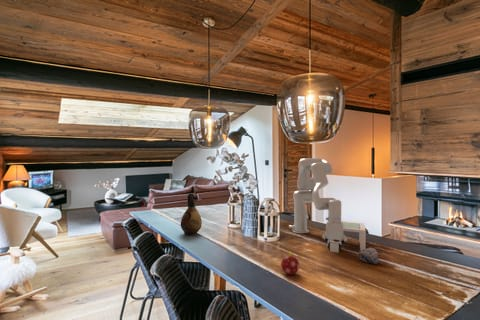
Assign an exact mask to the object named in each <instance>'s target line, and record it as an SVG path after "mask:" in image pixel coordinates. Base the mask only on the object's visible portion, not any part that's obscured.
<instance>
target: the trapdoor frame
mask: <svg viewBox="0 0 480 320" xmlns="http://www.w3.org/2000/svg"><path fill="white" fill-rule="evenodd" d="M341 222H344V223H355V224H359V229H357V228H346V227H343V232H350V233H351V232H353V233H358V235H359V236H358V237H359V238H358V239H359V251H361V250H364V249H367V248H366V242H367V241H366V239H367V236H366V233H367V232H366V225H365V223H364V222H353V221H344V220H343V221H342V220H341ZM330 241H334V242H335V240H333V239H330Z"/></svg>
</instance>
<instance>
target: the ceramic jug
mask: <svg viewBox="0 0 480 320" xmlns="http://www.w3.org/2000/svg"><path fill="white" fill-rule="evenodd" d="M198 201H199V198H198V196H195V195H194V193H192V192H190V193H188V195H187V209H186V210H185V212H184V213H183V215H182V216H181V220H180V228H181V230H182V231H183V234H184V236H187V237H190V236H191V237H193V236H196V235H197V234H198V233H199V231H200V230H201V228H202V224H203V223H202V217H201V214H200V212H199V211H198V209H197V208H196V206H195V202H198Z"/></svg>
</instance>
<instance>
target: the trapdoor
mask: <svg viewBox="0 0 480 320" xmlns="http://www.w3.org/2000/svg"><path fill="white" fill-rule="evenodd" d="M344 222H345V221H344ZM344 222H342V224H343V227H346V228H357V229H359V224H355V223H344Z"/></svg>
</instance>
